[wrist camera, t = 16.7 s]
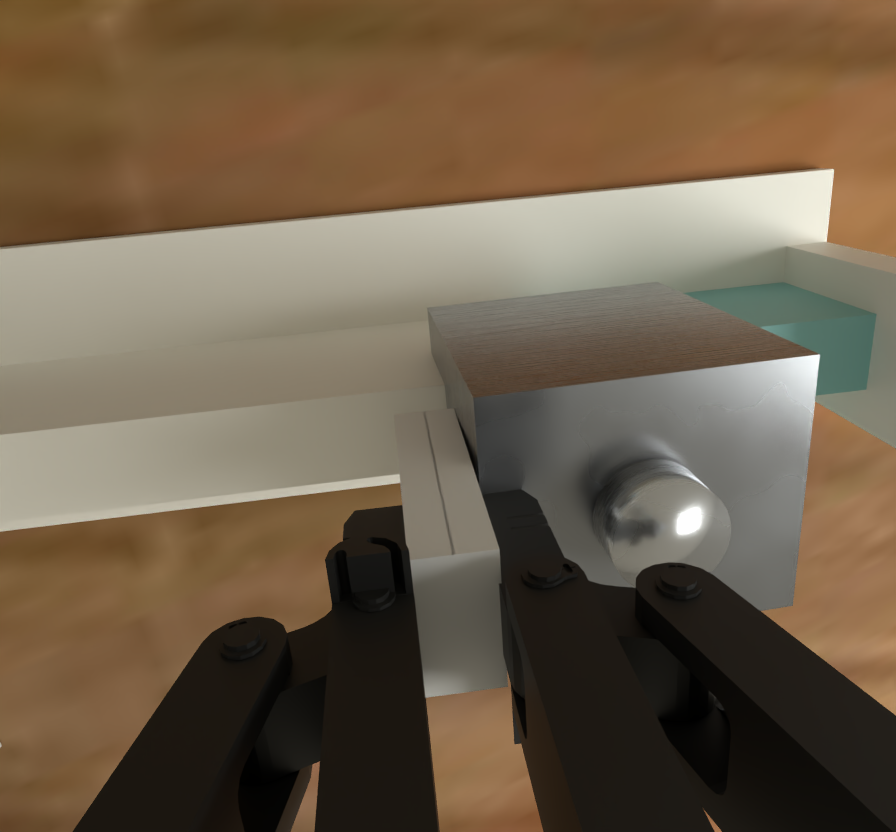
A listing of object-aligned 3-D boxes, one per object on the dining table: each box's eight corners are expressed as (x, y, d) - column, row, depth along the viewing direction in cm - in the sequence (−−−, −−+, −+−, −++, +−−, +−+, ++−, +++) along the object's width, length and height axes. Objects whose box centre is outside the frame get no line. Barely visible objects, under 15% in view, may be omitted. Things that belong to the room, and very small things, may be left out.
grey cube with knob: (427, 307, 21) (484, 420, 13) (657, 281, 22) (859, 372, 13) (444, 490, 23) (503, 692, 15) (653, 461, 24) (825, 639, 15)
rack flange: (-273, 273, 23) (-693, 361, 14) (820, 168, 26) (1074, 184, 17) (-154, 540, 27) (-426, 750, 18) (795, 426, 30) (991, 557, 20)
